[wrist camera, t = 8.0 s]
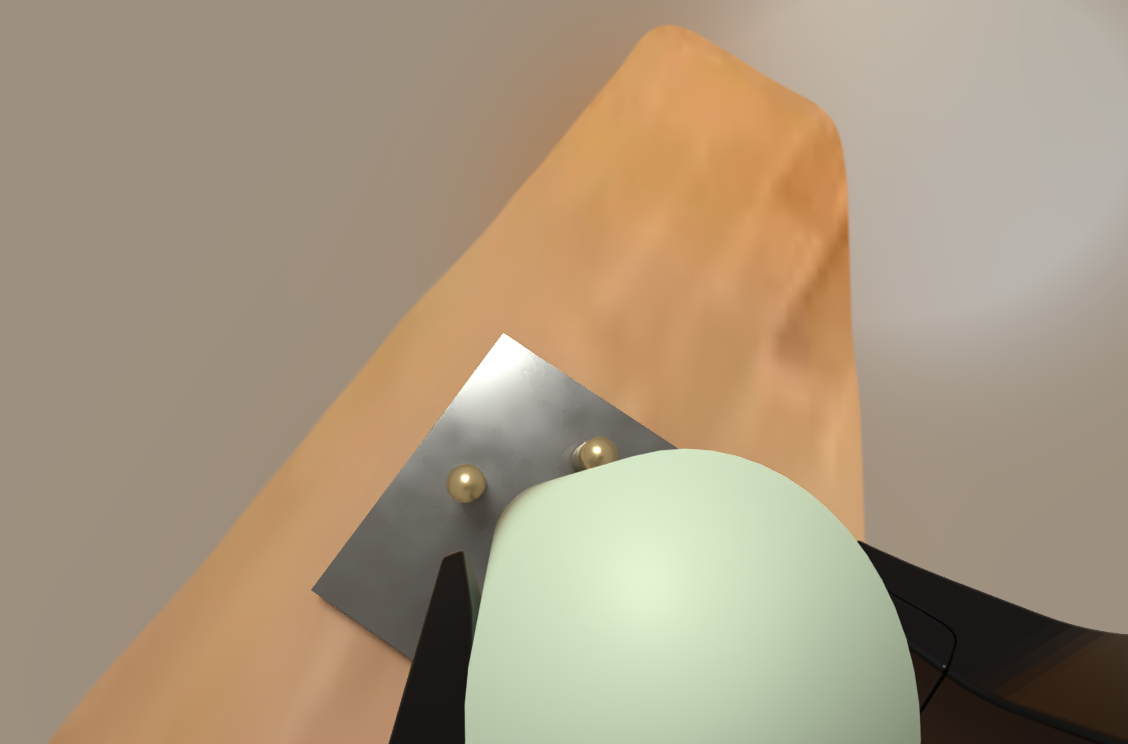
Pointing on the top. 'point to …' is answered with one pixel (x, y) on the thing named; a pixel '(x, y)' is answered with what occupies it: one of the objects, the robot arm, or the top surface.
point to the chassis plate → (472, 485)
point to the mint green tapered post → (684, 615)
